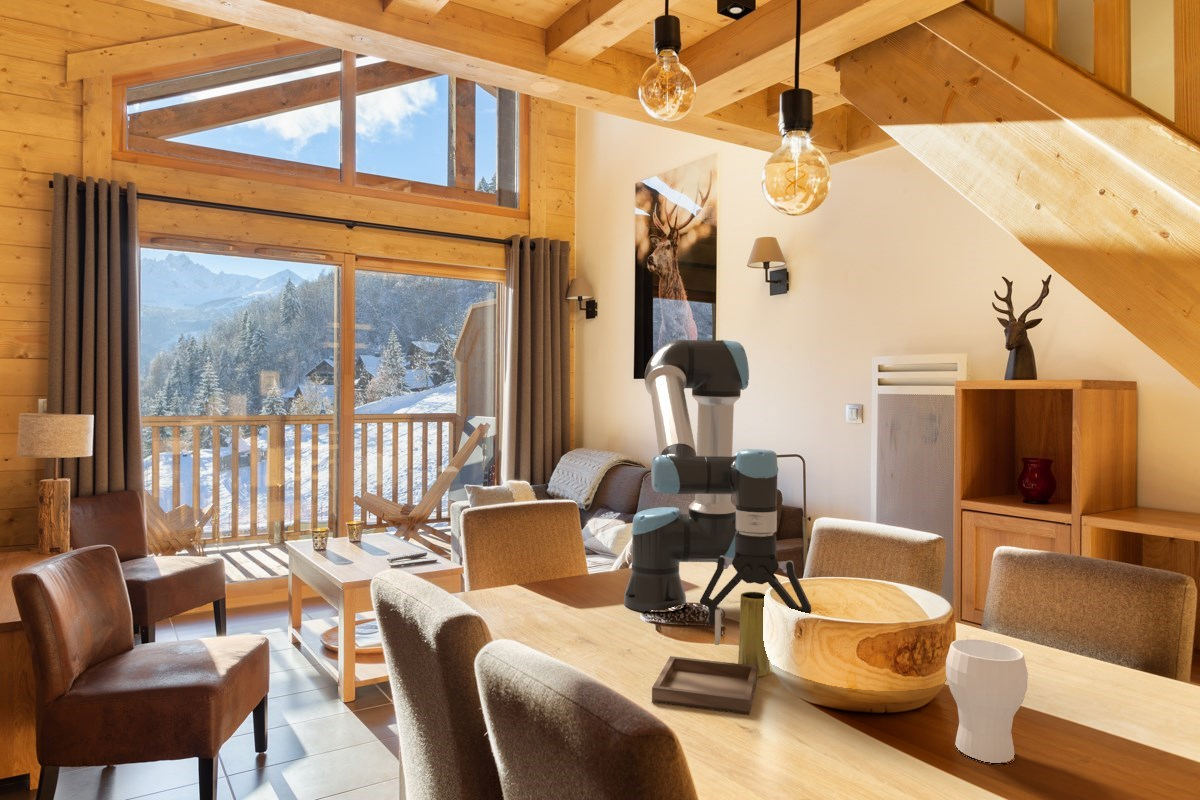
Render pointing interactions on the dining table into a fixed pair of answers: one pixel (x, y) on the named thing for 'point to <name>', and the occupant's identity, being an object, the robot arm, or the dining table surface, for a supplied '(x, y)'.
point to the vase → (752, 633)
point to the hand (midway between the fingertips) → (754, 646)
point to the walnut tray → (706, 685)
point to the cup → (986, 696)
